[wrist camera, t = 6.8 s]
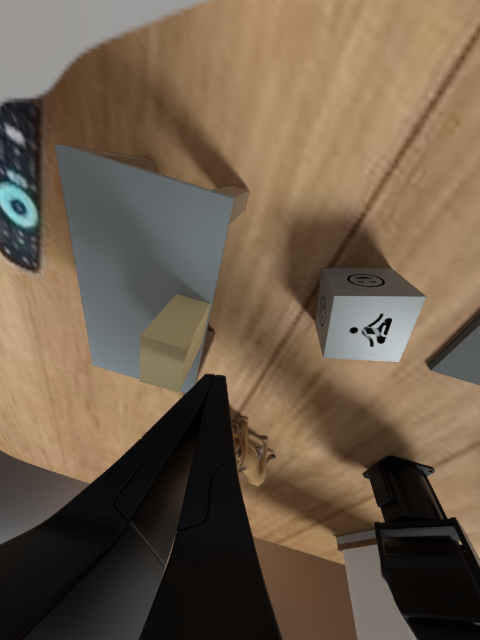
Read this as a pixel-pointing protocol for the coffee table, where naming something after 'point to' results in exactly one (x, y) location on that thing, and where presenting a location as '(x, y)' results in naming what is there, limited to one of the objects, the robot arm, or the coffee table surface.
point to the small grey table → (145, 262)
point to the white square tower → (371, 590)
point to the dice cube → (365, 313)
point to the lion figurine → (250, 455)
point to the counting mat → (461, 356)
